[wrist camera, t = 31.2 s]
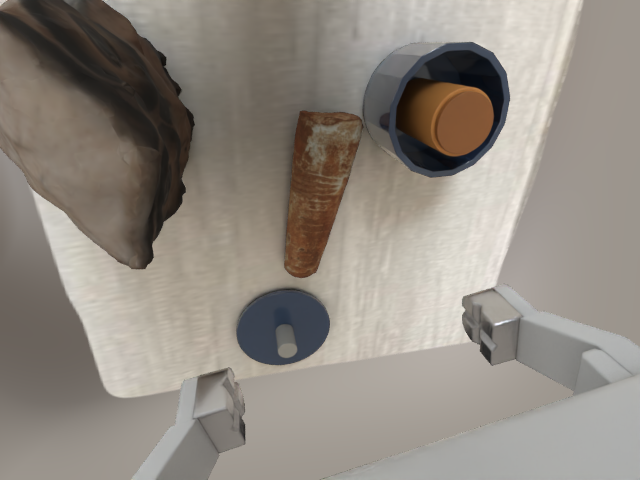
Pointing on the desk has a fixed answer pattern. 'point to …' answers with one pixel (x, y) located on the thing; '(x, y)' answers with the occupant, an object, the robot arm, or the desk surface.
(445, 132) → the tall brown tube
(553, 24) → the desk surface
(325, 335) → the pot lid
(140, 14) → the desk surface
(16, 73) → the owl
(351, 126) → the bread
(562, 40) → the desk surface
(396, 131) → the pot
